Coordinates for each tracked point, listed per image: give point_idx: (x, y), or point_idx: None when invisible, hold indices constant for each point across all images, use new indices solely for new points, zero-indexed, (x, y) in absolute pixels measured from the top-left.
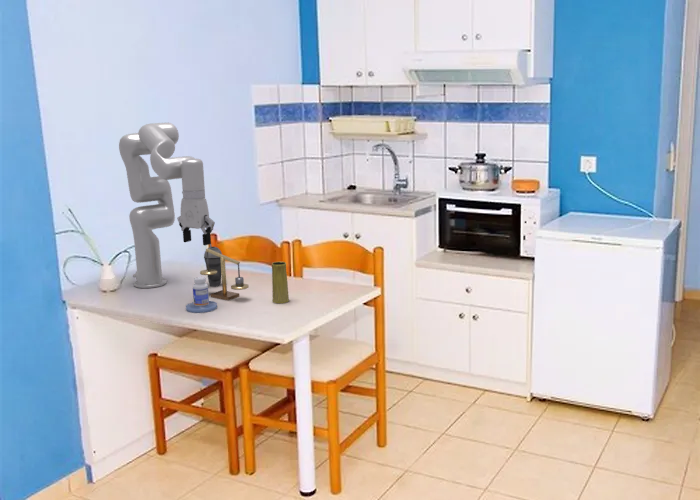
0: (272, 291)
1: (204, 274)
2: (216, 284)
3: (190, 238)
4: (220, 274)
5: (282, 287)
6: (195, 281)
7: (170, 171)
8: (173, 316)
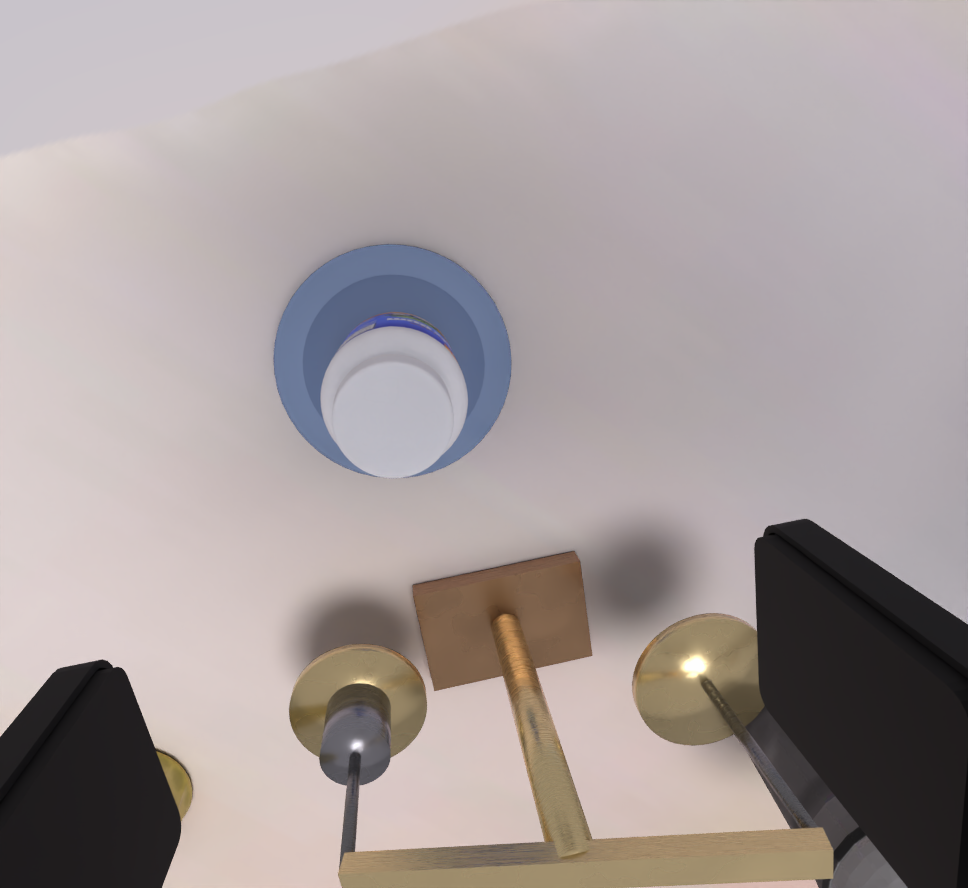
0: None
1: (678, 624)
2: None
3: (791, 719)
4: (762, 777)
5: None
6: (387, 357)
7: None
8: (380, 90)
